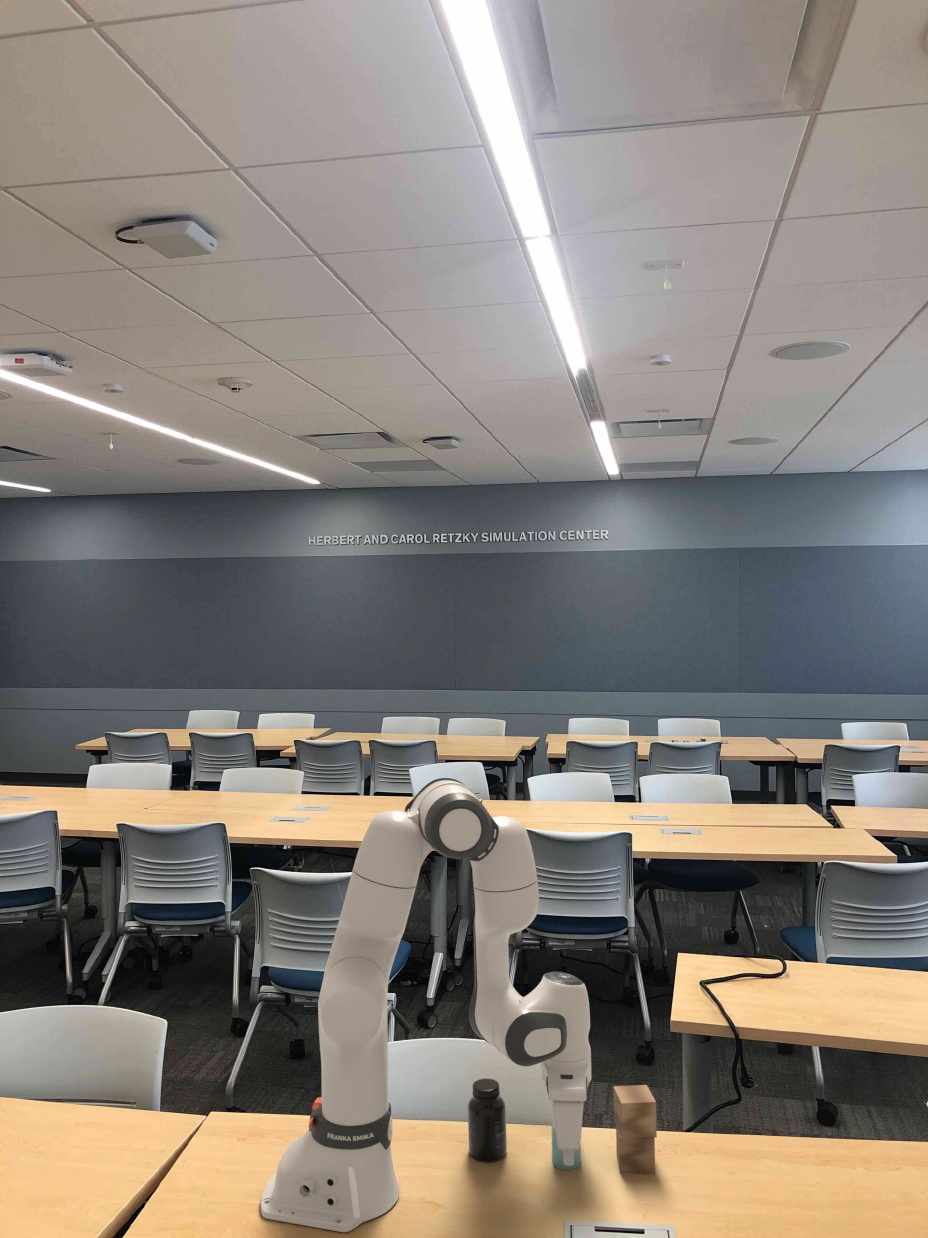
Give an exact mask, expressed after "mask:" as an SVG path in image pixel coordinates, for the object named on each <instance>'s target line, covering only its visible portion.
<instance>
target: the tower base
mask: <svg viewBox="0 0 928 1238" xmlns="http://www.w3.org/2000/svg"><path fill="white" fill-rule="evenodd" d="M615 1138H616V1139H615V1141H616V1143H615V1146H616V1147H615V1148H616V1158H617V1159H616V1160H617V1165H618V1169H619V1174H627V1175H628V1174H630V1175H631V1174H632V1175H634V1174H635V1175H656V1154H655V1153H656V1152H655V1151H656V1147H655V1145H656V1144H655V1138H636V1139H622V1138H621V1135H620V1133H619V1131H618V1128H617V1126H616V1125H615Z"/></svg>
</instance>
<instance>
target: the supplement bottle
mask: <svg viewBox="0 0 928 1238" xmlns="http://www.w3.org/2000/svg"><path fill="white" fill-rule="evenodd" d="M506 1111H507V1110H506V1102H505V1101H504V1099H503V1097H502V1096H501V1091H500V1084H499V1082H498V1080H496V1079H493V1078H479V1079H477V1080H476V1081H474V1082H473V1083H472V1096H471V1097H470V1099H469V1101H468V1103H467V1124H468V1125H467V1127H468V1128H467V1129H468V1131H467V1132H468V1135H467V1136H468V1152H469V1154H470V1156H471V1157H472V1158H473V1159H474V1160H477V1161H479V1162H483V1163H490V1162H496V1161H499V1160H501V1159H502V1158H503V1157H504V1156H506V1153H507V1148H508V1145H507V1142H508V1141H507V1112H506Z"/></svg>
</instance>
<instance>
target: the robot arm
mask: <svg viewBox="0 0 928 1238" xmlns="http://www.w3.org/2000/svg"><path fill="white" fill-rule="evenodd" d="M526 828H527V827H526V826H525V825H524V824H523V822H521V821H520V820H518V819H517V818H515V817H512V816H507V815H495V816H491V814H490V813H489V811H488V809H487V808H486V807H485V806H484V804H483V803H481V801H480V799H479V797H478V796H477V795H476V793H475V792H474V791H472V789H470V788H469V787H468V786H467V785H466V784H464V783H463V782H461V781H459V780H457V779H454V778H450V777H439V778H436V779H434V780H431V781H429V782H428V783H426V785H423V787H422V788H421V789H420V790H419V791H418V793H417V794H416V795H415V796H414V797H413V798H412V799H411V800H410V801H409V802H408V803H407V804H406V805H405V808H404V811H402V810H396V809H392V810H385V811H381V812H380V813H378V814H376V815H375V816H374V817H373V818H372V820H371V822H370V824H369V826H368V827H367V829H366V831H365V834H364V836H363V838H362V841H361V843H360V846H359V848H358V851H357V853H356V856H355V861H354V864H353V867H352V871H351V874H350V875H351V876H350V879H349V882H348V886H347V890H346V892H345V898H344V900H343V903H342V908H341V912H340V915H339V919H338V922H337V926H336V929H335V933H334V937H333V940H332V944H331V947H330V951H329V954H328V958H327V961H326V964H325V968H324V974H323V977H322V983H321V988H320V991H319V992H320V993H319V996H318V1001H317V1015H318V1017H317V1018H318V1035H319V1036H318V1037H319V1052H320V1064H321V1096H319V1097H317V1098H316V1099H315V1100H314V1102H313V1104H312V1107H311V1108H312V1111H311V1113H310V1115H309V1121H308V1130H307V1131H305V1132H304V1133H303V1134H302V1135H300V1136H299V1137H298V1138H296V1139H295V1140H293V1141H292V1142H291V1143H290V1144H289V1145H288V1147H287V1148H286V1149H285V1151H284V1153H283V1155H281V1158H280V1160H279V1163H278V1167H277V1170H276V1171H275V1172H274V1173H273V1175H272V1176H271V1177H270V1178H269V1179H268V1181H267V1183H266V1184H265V1186H264V1189H263V1191H262V1195H261V1197H260V1204H259V1205H260V1206H259V1207H260V1213H261V1216H262V1217H263V1218H264V1219H268V1220H272V1221H276V1222H277V1221H278V1222H283V1223H289V1224H295V1225H300V1226H305V1227H312V1228H316V1229H317V1228H318V1229H322V1230H327V1231H329V1230H330V1231H335V1232H341V1233H348V1232H352V1230H354V1229H356V1228H357V1227H359V1226H360V1225H361V1224H362V1223H365V1222H367V1221H370V1220H373V1219H375V1218H377V1217H380V1216H381V1215H384V1214H385V1213H387V1212H389V1210H390V1209H392V1208H393V1207H394V1206H395V1204H396V1202H397V1201H398V1199H399V1196H400V1186H399V1184H398V1179H397V1175H396V1172H395V1169H394V1168H395V1167H394V1163H393V1162H394V1161H393V1155H392V1147H391V1144H392V1139H393V1115H392V1105H391V1103H390V1100H389V1097H390V1095H389V1045H388V1044H389V1041H388V1040H389V1038H388V1037H389V1036H388V1035H389V1033H388V1032H389V1031H388V990H389V989H388V988H389V980H390V975H391V971H392V968H393V965H394V962H395V957H396V955H397V952H398V949H399V946H400V944H401V943H400V942H401V940H402V938H403V935H404V933H405V929H406V926H407V923H408V918H409V915H410V912H411V911H410V910H411V909H412V908H411V907H412V905H413V900H414V895H415V892H416V889H417V884H418V881H419V875H420V871H421V867H422V866H423V863H424V861H425V859H426V858H427V856H428V855H429V854H430V853H431V852H432V851H434V850H435V852H437V853H439V854H440V855H441V856H444V857H446V858H450V859H455V860H456V859H457V860H465V861H469V863H470V866H471V870H472V882H473V883H472V884H473V892H474V895H473V896H474V907H475V908H474V909H475V912H474V919H473V970H474V971H473V973H474V984H473V990H472V994H471V998H470V1002H469V1007H468V1020H469V1025H470V1027H471V1030H472V1031H473V1032H474V1034H475V1035H476V1036H477V1037H479V1038H480V1039H482V1040H484V1041H485V1042H486V1043H488V1044H489V1045H491V1046H492V1047H494V1049H496V1050H497V1051H498V1052H500V1053H501V1054H502V1055H503V1056H504V1057H506V1058H508V1060H510V1061H511V1062H513V1063H514V1064H516V1065H517V1066H521V1067H531V1066H536V1065H538V1064H540V1077H541V1079H542V1081H543V1083H544V1085H545V1087H546V1091H547V1096H548V1100H549V1101H551V1108H552V1115H553V1123H554V1124H555V1132H556V1140H557V1145H558V1148H559V1149H560V1150H563V1163H564V1165H573V1164H574V1150H578V1149H579V1147H580V1144H581V1141H582V1140H581V1139H582V1130H583V1117H584V1116H583V1115H584V1114H583V1113H584V1102H586V1101H587V1099H588V1098H587V1097H588V1088H589V1085H590V1082H591V1081H592V1049H591V1045H590V1042H589V1033H590V1029H591V1016H590V1015H591V1013H590V1002H589V995H588V991H587V990H588V989H587V987H586V984H585V983H584V982H583V981H582V980H581V979H580V978H578V977H577V976H575V975H572V974H570V973H566V972H564V971H550V972H546V973H544V974H543V976H542V977H541V981H540V982H539V983H538V985H537V986H535V988H533V990H531V992H528V994H527V995H525V996H522V995H521V994H520V993H519V992H518V991H517V990H516V989H515V987H514V986H513V983H512V982H511V979H510V967H509V966H510V963H509V962H510V960H509V939H510V936H511V935H512V934H515V933H519V932H521V931H523V930H525V929H526V928H528V926H530V925H531V924H532V922H533V921H534V920H535V918H536V917H537V915H538V912H539V903H540V895H539V894H540V892H539V884H538V883H539V882H538V875H537V868H536V867H537V866H536V860H535V857H534V856H535V855H534V851H533V848H532V847H533V846H532V843H531V840H530V837H529V834H528V830H527V829H526Z"/></svg>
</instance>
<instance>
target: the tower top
mask: <svg viewBox="0 0 928 1238" xmlns="http://www.w3.org/2000/svg"><path fill="white" fill-rule="evenodd" d="M613 1120H614V1125H615V1127H616V1126H617V1128H618V1131H619V1133H620V1135H621V1138H622V1139H636V1138H654V1139H655V1138H656V1139H657V1136H658V1135H657V1130H658V1129H657V1101H656V1099H655V1098H654V1096H653V1094H652V1092H651V1090H650V1088H649V1087H648V1085H647V1084H641V1085H639V1084H637V1085H635V1084H634V1085H617V1086H616V1085H614V1086H613Z"/></svg>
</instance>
